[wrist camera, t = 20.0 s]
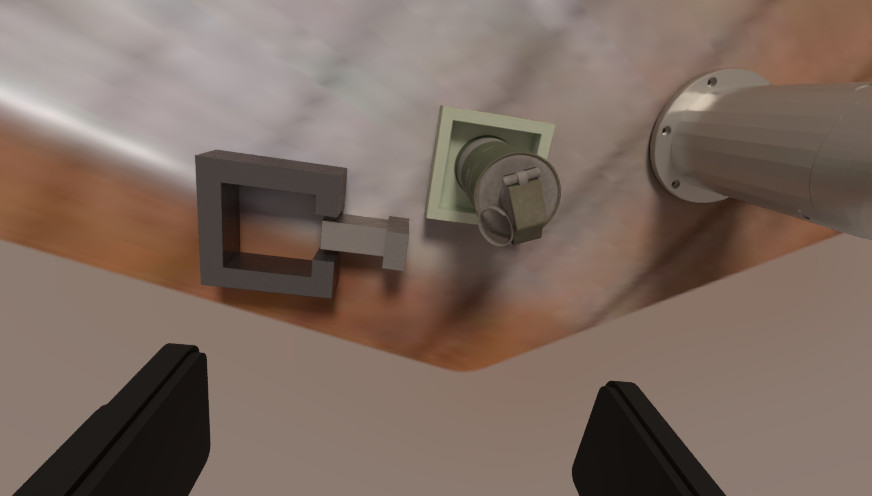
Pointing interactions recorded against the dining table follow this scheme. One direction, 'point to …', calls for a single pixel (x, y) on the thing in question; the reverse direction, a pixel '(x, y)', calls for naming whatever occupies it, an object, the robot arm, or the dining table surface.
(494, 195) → the grenade
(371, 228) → the grey stepped block
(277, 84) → the dining table surface
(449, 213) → the tray
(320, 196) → the socket
